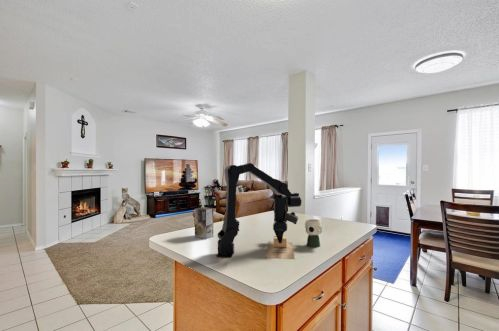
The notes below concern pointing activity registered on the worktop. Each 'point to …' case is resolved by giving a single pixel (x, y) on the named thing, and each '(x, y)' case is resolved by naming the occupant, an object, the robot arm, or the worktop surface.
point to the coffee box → (204, 222)
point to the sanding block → (277, 244)
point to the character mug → (313, 232)
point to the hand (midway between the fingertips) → (280, 240)
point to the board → (280, 251)
